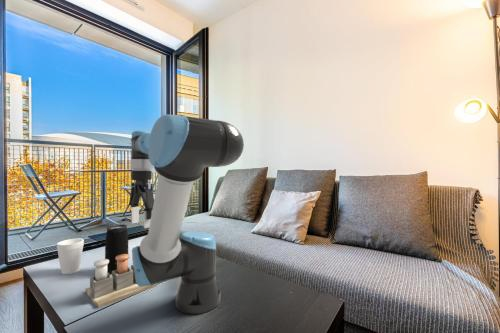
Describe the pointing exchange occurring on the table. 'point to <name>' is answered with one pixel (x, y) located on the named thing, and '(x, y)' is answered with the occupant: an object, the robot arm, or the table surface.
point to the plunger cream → (101, 269)
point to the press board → (114, 288)
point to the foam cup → (70, 255)
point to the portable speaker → (115, 245)
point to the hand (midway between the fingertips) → (141, 225)
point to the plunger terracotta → (122, 263)
